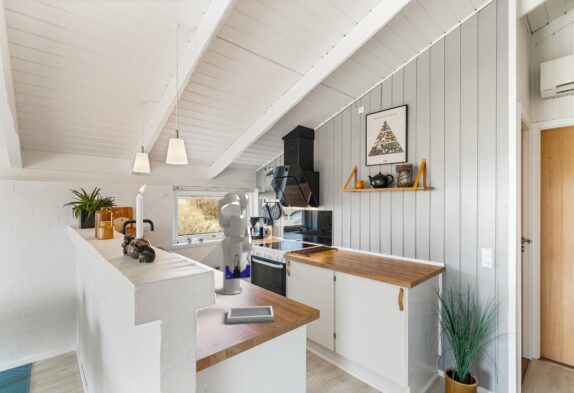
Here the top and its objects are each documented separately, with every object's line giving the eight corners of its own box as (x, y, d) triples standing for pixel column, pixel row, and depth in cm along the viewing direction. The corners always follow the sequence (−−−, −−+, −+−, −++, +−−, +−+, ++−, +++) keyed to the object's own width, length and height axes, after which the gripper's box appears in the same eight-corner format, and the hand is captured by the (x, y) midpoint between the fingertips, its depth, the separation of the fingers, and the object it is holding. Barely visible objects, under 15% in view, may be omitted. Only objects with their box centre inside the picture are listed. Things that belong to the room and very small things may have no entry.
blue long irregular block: (248, 275, 143) (248, 263, 143) (250, 277, 139) (250, 265, 139) (224, 277, 139) (224, 265, 139) (225, 279, 135) (225, 267, 135)
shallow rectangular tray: (229, 311, 132) (229, 306, 132) (271, 309, 135) (271, 305, 135) (226, 324, 118) (226, 319, 118) (274, 322, 121) (274, 316, 121)
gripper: (230, 237, 147) (230, 271, 147) (228, 242, 130) (227, 281, 130) (245, 237, 148) (244, 271, 148) (244, 241, 131) (244, 280, 131)
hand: (236, 275), depth 139 cm, fingers closed on blue long irregular block, 5 cm apart
